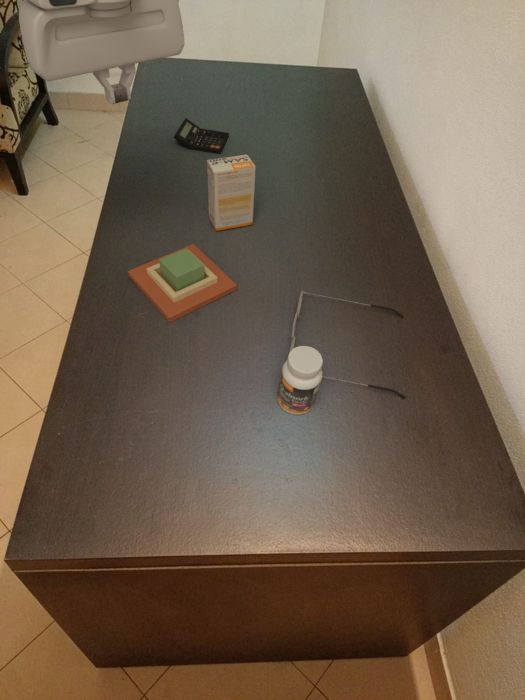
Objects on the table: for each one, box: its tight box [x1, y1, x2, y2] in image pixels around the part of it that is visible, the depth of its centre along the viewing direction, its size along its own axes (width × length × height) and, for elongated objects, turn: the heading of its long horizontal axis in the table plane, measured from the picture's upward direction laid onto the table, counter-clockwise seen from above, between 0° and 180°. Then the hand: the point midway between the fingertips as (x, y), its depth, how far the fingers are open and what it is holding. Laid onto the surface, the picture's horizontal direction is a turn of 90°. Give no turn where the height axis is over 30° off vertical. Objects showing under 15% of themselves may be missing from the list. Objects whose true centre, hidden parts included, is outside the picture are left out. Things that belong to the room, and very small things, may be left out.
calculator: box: [172, 117, 230, 155], centre depth 116 cm, size 9×12×3 cm
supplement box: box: [206, 154, 257, 232], centre depth 92 cm, size 8×5×13 cm, turn 111°
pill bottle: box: [276, 345, 324, 416], centre depth 66 cm, size 6×6×10 cm
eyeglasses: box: [289, 290, 407, 400], centre depth 76 cm, size 18×19×4 cm
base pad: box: [127, 243, 238, 323], centre depth 83 cm, size 14×14×2 cm
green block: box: [159, 248, 205, 292], centre depth 82 cm, size 6×6×4 cm
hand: (119, 100), depth 64 cm, fingers closed
